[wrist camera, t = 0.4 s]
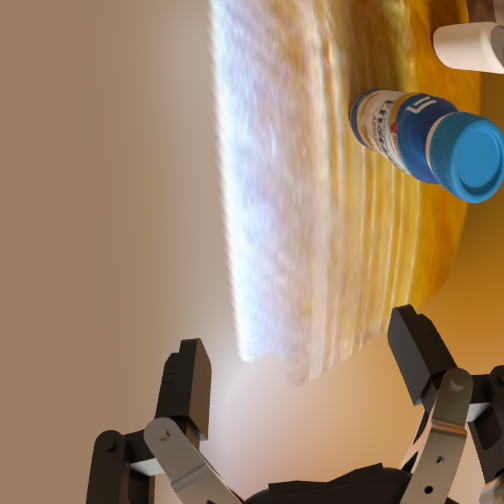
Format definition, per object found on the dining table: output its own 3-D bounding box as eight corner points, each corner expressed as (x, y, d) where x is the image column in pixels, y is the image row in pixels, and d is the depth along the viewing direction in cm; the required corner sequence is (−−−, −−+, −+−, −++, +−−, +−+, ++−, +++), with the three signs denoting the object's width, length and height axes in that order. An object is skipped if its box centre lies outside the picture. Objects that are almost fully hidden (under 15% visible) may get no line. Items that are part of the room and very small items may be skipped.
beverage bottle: (407, 147, 35) (509, 209, 18) (350, 153, 36) (437, 222, 18) (402, 87, 31) (516, 109, 14) (343, 89, 31) (439, 103, 14)
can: (458, 27, 25) (516, 24, 14) (468, 68, 28) (526, 76, 18) (425, 25, 25) (483, 18, 15) (437, 69, 29) (496, 75, 18)
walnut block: (462, -24, 19) (485, -30, 14) (503, -2, 19) (526, -4, 14) (471, 31, 25) (497, 30, 19) (510, 48, 24) (535, 51, 19)
